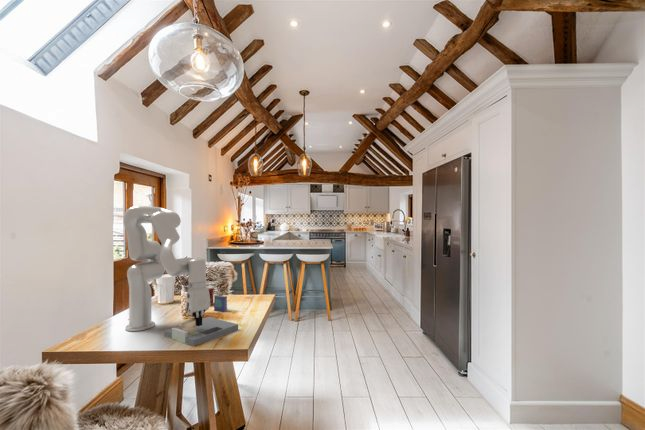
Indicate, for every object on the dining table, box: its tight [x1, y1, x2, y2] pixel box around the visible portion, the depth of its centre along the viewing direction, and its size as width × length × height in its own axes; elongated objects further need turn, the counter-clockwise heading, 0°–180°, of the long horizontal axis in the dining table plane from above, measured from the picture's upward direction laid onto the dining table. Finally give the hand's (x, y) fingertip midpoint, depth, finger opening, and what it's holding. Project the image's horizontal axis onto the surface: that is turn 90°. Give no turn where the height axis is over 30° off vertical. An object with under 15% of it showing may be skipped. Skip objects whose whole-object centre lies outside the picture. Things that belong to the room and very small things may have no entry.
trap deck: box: [163, 316, 239, 347], centre depth 147 cm, size 22×24×4 cm
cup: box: [155, 273, 177, 305], centre depth 202 cm, size 11×11×17 cm
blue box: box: [213, 292, 228, 313], centre depth 183 cm, size 9×3×11 cm, turn 63°
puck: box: [180, 317, 196, 335], centre depth 140 cm, size 6×6×5 cm
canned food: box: [206, 285, 214, 307], centre depth 196 cm, size 8×8×11 cm
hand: (198, 325), depth 144 cm, fingers closed
